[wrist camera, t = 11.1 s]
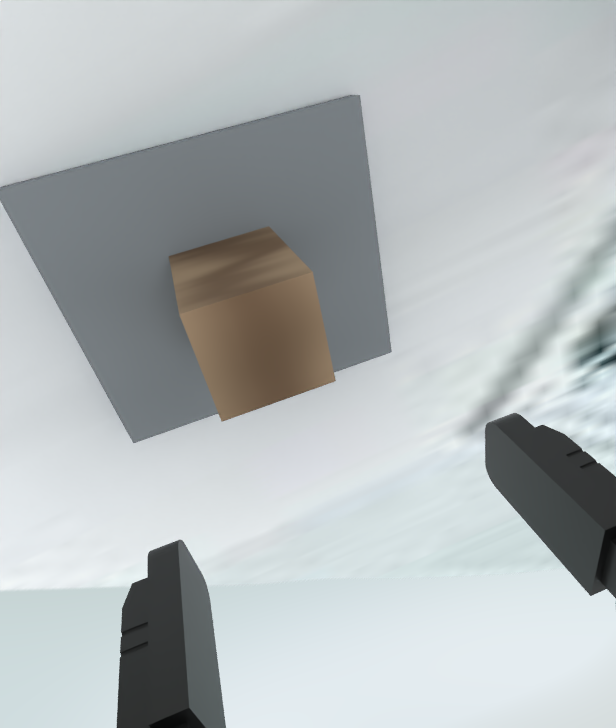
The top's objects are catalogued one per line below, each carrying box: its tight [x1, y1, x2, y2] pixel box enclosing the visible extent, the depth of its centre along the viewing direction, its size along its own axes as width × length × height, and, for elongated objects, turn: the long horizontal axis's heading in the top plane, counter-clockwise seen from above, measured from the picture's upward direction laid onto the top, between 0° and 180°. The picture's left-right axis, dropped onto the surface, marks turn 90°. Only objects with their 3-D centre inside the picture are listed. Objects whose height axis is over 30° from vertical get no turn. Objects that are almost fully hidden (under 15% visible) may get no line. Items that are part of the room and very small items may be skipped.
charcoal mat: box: [0, 95, 391, 443], centre depth 24 cm, size 16×14×1 cm
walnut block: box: [169, 226, 335, 421], centre depth 21 cm, size 5×5×7 cm
